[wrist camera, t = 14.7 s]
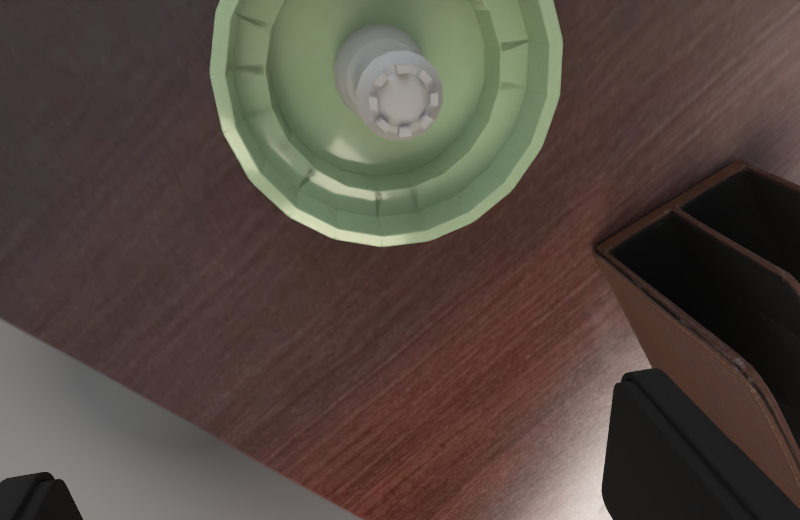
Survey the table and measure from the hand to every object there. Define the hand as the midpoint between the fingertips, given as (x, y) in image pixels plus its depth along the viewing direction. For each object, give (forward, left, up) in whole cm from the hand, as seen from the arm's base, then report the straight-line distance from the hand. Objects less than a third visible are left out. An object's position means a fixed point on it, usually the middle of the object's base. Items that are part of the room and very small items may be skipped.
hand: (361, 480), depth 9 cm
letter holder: (+24, -14, -22) cm, 35 cm away
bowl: (+3, +4, -21) cm, 22 cm away
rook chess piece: (+3, +4, -21) cm, 21 cm away
